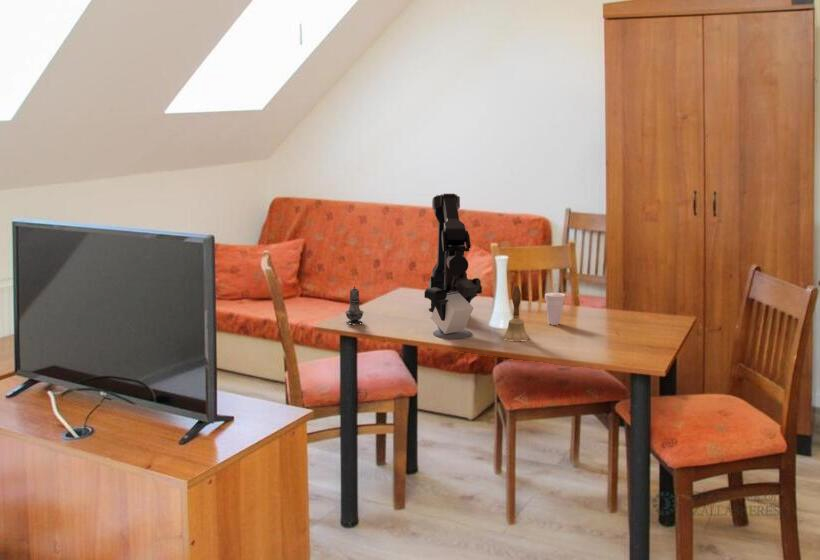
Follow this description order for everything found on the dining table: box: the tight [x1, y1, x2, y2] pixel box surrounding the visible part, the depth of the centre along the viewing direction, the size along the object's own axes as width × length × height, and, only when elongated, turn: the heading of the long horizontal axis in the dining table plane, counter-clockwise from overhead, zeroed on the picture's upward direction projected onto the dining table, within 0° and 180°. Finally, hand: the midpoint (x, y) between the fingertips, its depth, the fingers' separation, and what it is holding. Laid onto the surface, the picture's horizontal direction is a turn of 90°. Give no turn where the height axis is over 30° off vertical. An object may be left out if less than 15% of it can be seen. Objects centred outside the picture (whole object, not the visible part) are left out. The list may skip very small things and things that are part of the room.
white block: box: [430, 293, 474, 334], centre depth 296 cm, size 8×8×9 cm
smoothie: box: [544, 280, 566, 326], centre depth 308 cm, size 6×6×14 cm
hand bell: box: [501, 285, 530, 342], centre depth 291 cm, size 8×8×16 cm
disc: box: [432, 329, 474, 340], centre depth 296 cm, size 12×12×1 cm
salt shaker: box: [344, 285, 365, 325], centre depth 307 cm, size 6×6×12 cm
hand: (453, 318), depth 296 cm, fingers closed on white block, 8 cm apart
